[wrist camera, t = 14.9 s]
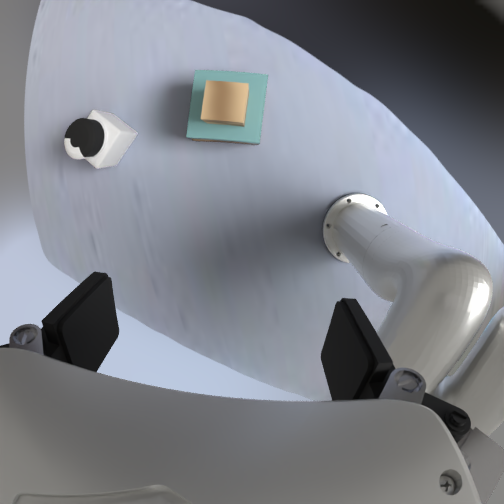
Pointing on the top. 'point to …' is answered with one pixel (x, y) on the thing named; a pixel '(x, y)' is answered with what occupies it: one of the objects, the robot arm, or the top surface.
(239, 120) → the oak block
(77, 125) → the medicine bottle
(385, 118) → the top surface
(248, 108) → the teal slab
